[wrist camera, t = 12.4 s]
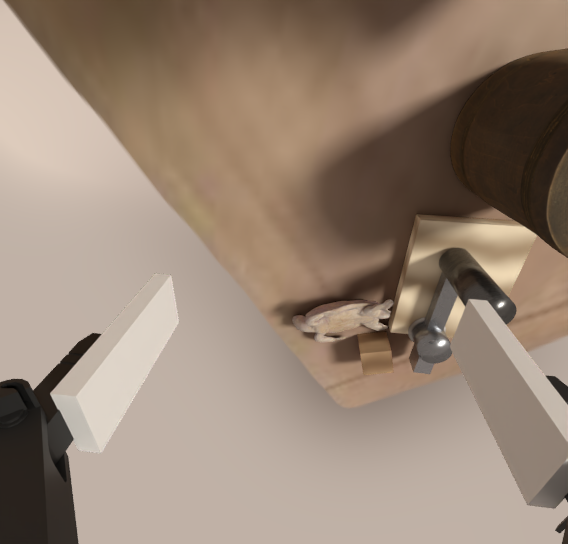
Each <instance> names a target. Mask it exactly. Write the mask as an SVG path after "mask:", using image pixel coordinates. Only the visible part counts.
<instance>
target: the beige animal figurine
mask: <svg viewBox="0 0 568 544" xmlns="http://www.w3.org/2000/svg"><path fill="white" fill-rule="evenodd" d="M393 304H394V302H393V301H392V300H391V299H388V300H386V301H385V302H384V303H382V304H381V303H378V302H376V301H367V300H353V301H350V300H348V301H338V302H334V303H329V304H324V305H321V306H318V307H316V308H314V309H313V310H311V311H310V312H308V313H307V314H306V317H304V316H302V315H296V316H294V317H293V319H292V320H293V324H294V325H295V327H296V328H297V329H298V330H300V331H303V332H316V333H315V336H314V339H315V341H318V342H334V341H335V340H341V339H345V338H347V337H342V338H334V337H331V336H324V335H325V334H326V333H327V332H329V333H336V332H343V331H347V330H350V329H353V328H356V327H359V326H361V325H365V326H366V327H368V328H371V329H374V330H377V331H381V330H384V329H387V328H388V327H389V326H387V325H383V324H382V323H379V322H378V321H379V319H386V318H389V317H390V313H391V311H389V310H388V308H390V307H391V306H392V305H393Z"/></svg>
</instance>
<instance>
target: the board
mask: <svg viewBox="0 0 568 544" xmlns="http://www.w3.org/2000/svg"><path fill="white" fill-rule="evenodd" d="M536 236H537V235H536V234H535V233H533V232H532V231H530V230H529V229H527V228H526V227H524V226H523V225H521V224H520V223H518V222H516V221H513V220H497V219H482V218H467V217H451V216H436V215H421V214H416V217H415V221H414V225H413V229H412V233H411V237H410V241H409V245H408V249H407V253H406V256H405V260H404V264H403V268H402V272H401V276H400V280H399V284H398V288H397V292H396V296H395V299H394V304H393V307H392V311H391V315H390V319H389V323H388V325H389V329H390V332H391V333H401V334H408V335H409V338H410V339H411V340H412V341H413V338H412V334H411V333H412V329H413V328H414V326H415V325H417V324H418V323H420V322H423V321H424V320H425V317H426V314H427V312H428V309H429V306H430V303H431V301H432V298H433V295H434V293H435V290H436V287H437V284H438V282H439V279H440V276H441V274H442V270H441V269H440V267H439V259H440V257H441V256H442V254H443V253H445V252H446V251H447V250H449V249H452V248H464V249H466V250H467V251H468V252H469V253H470V254H471V255H472V256H473V258H474V259H475V260H476V261H477V262H478V263H479V264H480V265H481V267H482V268H483V269H484V270H485V271H486V272H487V273H488V275H489V276H490V277H491V278H492V279H493V280H494V281H495V283H496V284H497V285H498V286H499V287H500V288H501V289H502V290H503V292H504V293H505V294H506V295H507V296H509V294H510V291H511V289H512V287H513V285H514V283H515V281H516V279H517V277H518V275H519V272H520V270H521V268H522V266H523V264H524V262H525V260H526V258H527V255H528V253H529V251H530V249H531V247H532V245H533V243H534V241H535V239H536ZM464 309H465V306H464V304H463V303H462V301H461V300H460V298H459V296H457V298H456V301H455V303H454V306H453V308H452V310H451V313H450V315H449V318H448V320H447V323H446V325H445V327H444V331H445V333H446V335H447V337H448V338H453V337H454V334H455V332H456V329H457V327H458V324H459V322H460V319H461V317H462V314H463V312H464ZM413 342H414V341H413Z"/></svg>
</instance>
